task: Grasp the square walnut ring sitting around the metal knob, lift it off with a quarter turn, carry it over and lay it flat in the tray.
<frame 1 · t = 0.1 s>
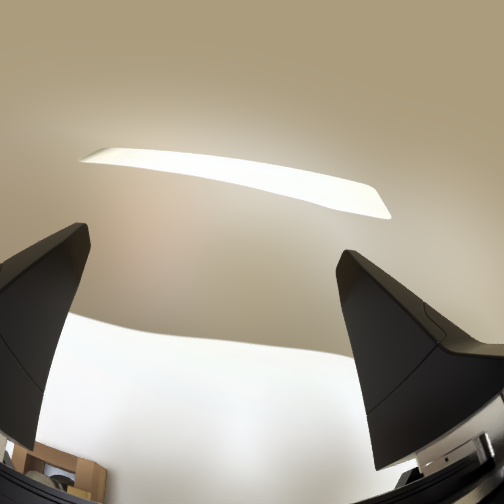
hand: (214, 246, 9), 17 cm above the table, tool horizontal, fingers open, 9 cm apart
metal knob: (63, 493, 10), on the table
ring: (63, 493, 10), on the table
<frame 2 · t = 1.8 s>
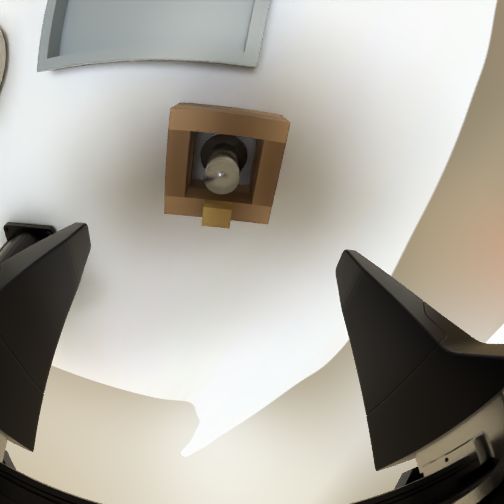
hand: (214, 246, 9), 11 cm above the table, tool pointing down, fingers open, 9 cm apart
metal knob: (223, 154, 18), on the table
ring: (223, 154, 18), on the table
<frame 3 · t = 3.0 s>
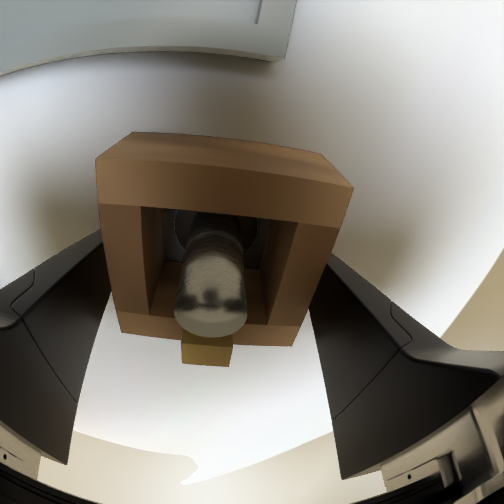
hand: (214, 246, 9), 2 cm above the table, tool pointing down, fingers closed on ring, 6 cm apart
metal knob: (216, 223, 10), on the table
ring: (216, 222, 11), on the table, touching gripper
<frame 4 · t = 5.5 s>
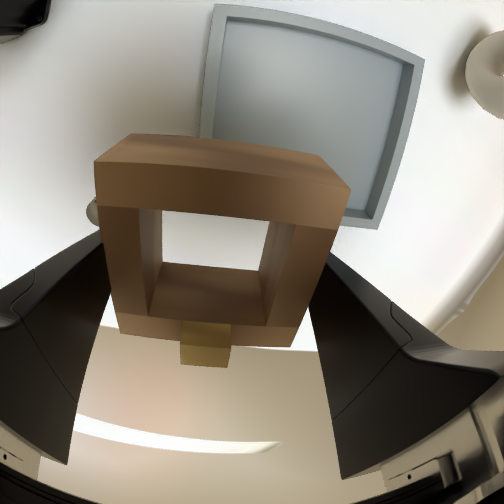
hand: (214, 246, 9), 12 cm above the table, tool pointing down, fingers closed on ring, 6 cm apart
grey wheel: (471, 61, 14), on the table
metal knob: (120, 185, 19), on the table
ring: (214, 224, 11), point 10 cm above the table, touching gripper
tray: (307, 119, 18), on the table
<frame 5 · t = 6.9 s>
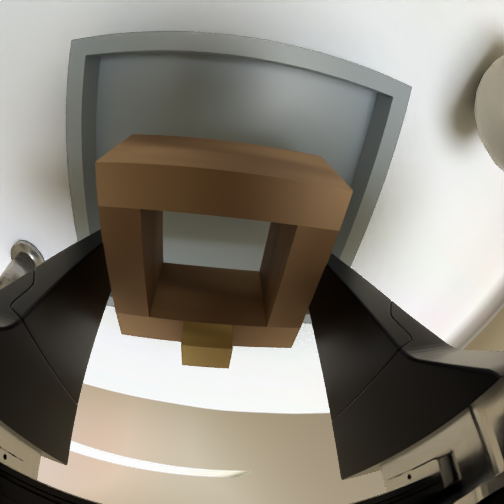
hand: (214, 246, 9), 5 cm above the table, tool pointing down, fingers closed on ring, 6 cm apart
grey wheel: (484, 86, 10), on the table
metal knob: (28, 258, 15), on the table
ring: (215, 224, 11), point 4 cm above the table, touching gripper
tray: (221, 187, 13), on the table
when the fingers open (3 cm above the table, at t = 7.8 s): ring stays where it is, resting on tray.
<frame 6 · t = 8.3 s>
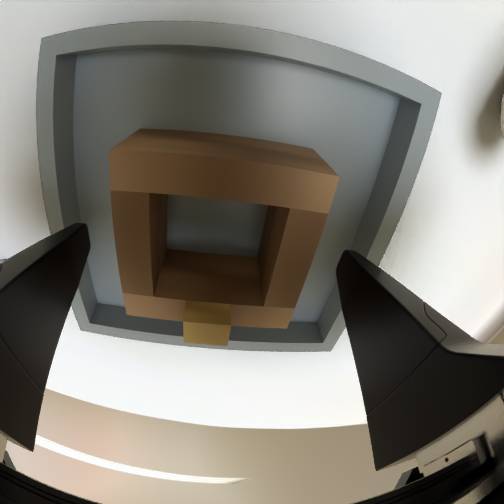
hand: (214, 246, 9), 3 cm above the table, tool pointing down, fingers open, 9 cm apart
ring: (216, 212, 11), resting on tray
tray: (218, 206, 12), on the table
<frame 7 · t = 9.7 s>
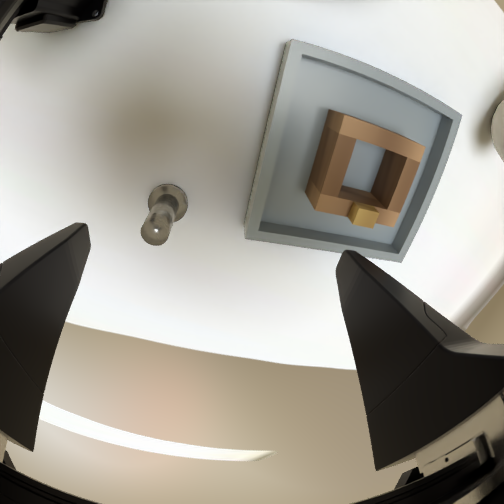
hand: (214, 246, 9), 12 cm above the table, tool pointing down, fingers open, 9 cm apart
grey wheel: (496, 113, 16), on the table
metal knob: (168, 202, 21), on the table
ring: (356, 162, 19), resting on tray
tray: (355, 160, 19), on the table
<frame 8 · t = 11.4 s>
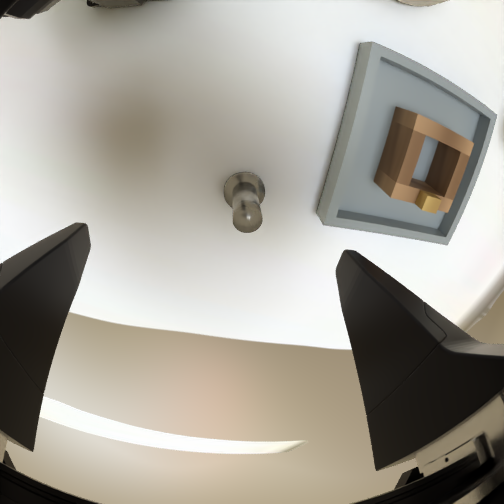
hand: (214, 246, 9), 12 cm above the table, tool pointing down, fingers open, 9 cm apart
metal knob: (244, 190, 21), on the table
ring: (415, 154, 19), resting on tray
tray: (413, 152, 20), on the table
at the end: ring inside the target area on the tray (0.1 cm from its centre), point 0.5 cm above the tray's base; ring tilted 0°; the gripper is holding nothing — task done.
